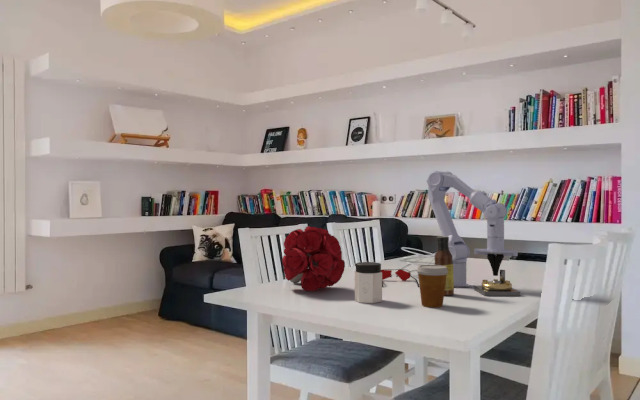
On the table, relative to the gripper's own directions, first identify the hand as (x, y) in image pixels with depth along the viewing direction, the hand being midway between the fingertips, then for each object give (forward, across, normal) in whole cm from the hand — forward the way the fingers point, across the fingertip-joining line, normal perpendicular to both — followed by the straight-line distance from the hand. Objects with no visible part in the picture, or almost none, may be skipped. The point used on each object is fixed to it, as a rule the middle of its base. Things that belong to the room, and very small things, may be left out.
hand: (495, 275), depth 183 cm
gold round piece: (+4, +1, -4) cm, 5 cm away
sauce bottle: (+6, -15, -15) cm, 22 cm away
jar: (+6, -34, -37) cm, 51 cm away
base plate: (+5, +1, -4) cm, 7 cm away
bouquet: (+6, -61, -25) cm, 67 cm away
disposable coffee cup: (+6, -14, -35) cm, 38 cm away
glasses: (+6, -36, -1) cm, 37 cm away
